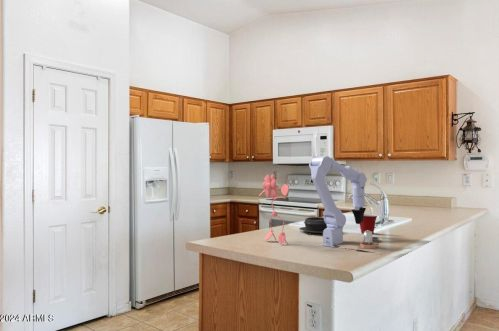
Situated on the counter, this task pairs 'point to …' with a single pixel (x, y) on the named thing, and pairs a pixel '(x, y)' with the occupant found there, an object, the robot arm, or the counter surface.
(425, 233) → the counter surface
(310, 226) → the casserole
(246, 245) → the counter surface
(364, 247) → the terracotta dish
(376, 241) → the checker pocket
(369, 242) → the steel cell
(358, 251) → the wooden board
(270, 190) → the figurine
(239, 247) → the counter surface
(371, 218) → the plastic cup
